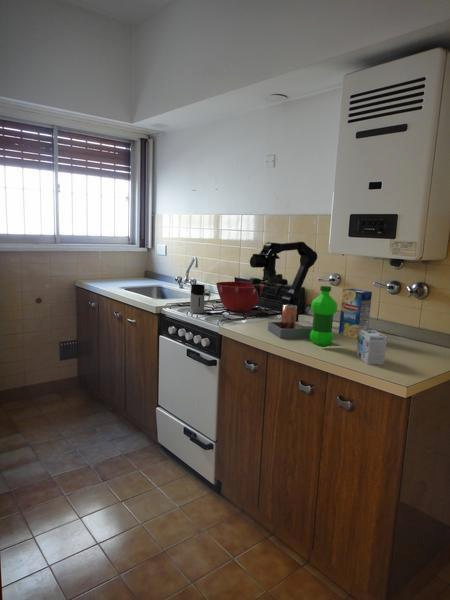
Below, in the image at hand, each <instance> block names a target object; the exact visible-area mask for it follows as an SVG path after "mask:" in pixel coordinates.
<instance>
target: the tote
mask: <svg viewBox="0 0 450 600" xmlns="http://www.w3.org/2000/svg"><path fill="white" fill-rule="evenodd" d="M308 322H309V323H311V324H313V322H310V321H308ZM267 325H268V326H267V331H268V332H269V333H271V334H273V335H275V336H276V337H278V338H279V339H282V340H283V339H310V332H311V331H312V329H313V328H307V329H282V328H281V321H268V323H267Z"/></svg>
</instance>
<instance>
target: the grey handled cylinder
mask: <svg viewBox="0 0 450 600" xmlns="http://www.w3.org/2000/svg"><path fill="white" fill-rule="evenodd" d="M205 287H206V286H205V284H201V283H200V284H198V283H197V284H194V283H193V284H191V285H190V302H189V303H190V304H189V312H190V313H193V314H202V313H205V306H207V304H208V303H209V301H210V299H211V291H210V290H209V289H207V288H205ZM206 291H208V299H207V301H206V303H205V297H206Z"/></svg>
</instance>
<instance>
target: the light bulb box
mask: <svg viewBox="0 0 450 600" xmlns="http://www.w3.org/2000/svg"><path fill="white" fill-rule="evenodd" d="M387 340H388V336H387V335H385V334H383V333H381V332H379V331H378V330H376V329H368V330H359V337H358V340H357V348H356V357H357V358H359V360H361V361H362V362H364V364H365V365H375V364H378V365H379V366H381V365H383V366H384V365H385V358H386V351H387V342H388V341H387Z"/></svg>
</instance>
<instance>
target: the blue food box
mask: <svg viewBox="0 0 450 600" xmlns="http://www.w3.org/2000/svg"><path fill="white" fill-rule="evenodd" d="M341 293H342V296H341V303H340V304H341V305H340V314H339V315H340V317H339V328H338V335H341V336H345V337H349V338H351V339H354V340H357V341H358V337H359V330H369V325H370V318H371V317H370V315H371V306H372V298H373V291H369V290H363V289H358V288H357V289H356V288H342V292H341Z"/></svg>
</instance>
